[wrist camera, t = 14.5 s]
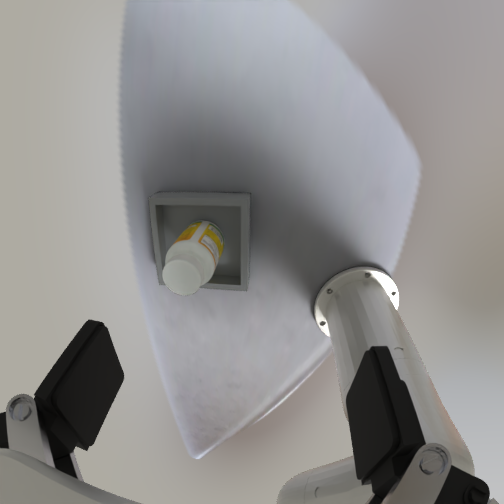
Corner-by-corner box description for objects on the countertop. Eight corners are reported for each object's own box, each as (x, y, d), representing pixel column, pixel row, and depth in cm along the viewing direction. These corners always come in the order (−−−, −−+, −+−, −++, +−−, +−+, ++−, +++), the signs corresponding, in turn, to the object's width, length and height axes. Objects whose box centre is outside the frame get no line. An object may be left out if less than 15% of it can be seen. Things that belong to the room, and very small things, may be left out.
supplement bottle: (229, 225, 34) (213, 261, 26) (220, 263, 37) (204, 307, 28) (186, 214, 34) (157, 247, 26) (180, 253, 37) (154, 293, 28)
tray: (250, 192, 33) (248, 199, 31) (249, 278, 38) (247, 291, 36) (157, 192, 34) (148, 198, 31) (166, 273, 39) (159, 284, 36)
